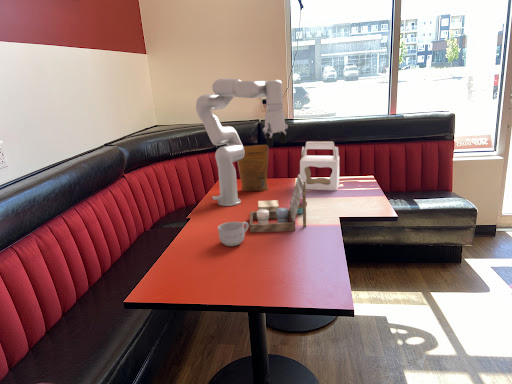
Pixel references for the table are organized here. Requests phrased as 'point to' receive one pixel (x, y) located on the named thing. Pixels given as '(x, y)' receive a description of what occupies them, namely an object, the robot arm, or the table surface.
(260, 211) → the cream pot
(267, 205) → the stand
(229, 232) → the teacup
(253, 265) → the table surface
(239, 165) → the pancake mix bag
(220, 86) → the robot arm
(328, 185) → the white carry box
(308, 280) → the table surface
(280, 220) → the blue pot
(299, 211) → the cupcake
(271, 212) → the cold frame
